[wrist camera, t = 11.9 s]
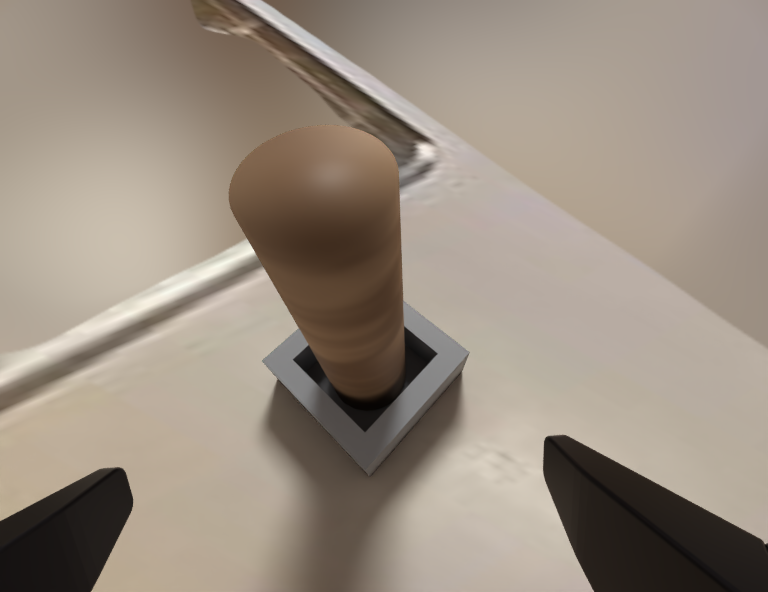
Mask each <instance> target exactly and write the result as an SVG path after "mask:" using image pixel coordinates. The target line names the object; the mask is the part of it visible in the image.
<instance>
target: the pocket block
mask: <svg viewBox="0 0 768 592" xmlns="http://www.w3.org/2000/svg"><path fill="white" fill-rule="evenodd" d="M403 311H404V340H405V369H406V376H405V382H404V386H403V388H402V390H401V392H400V393H399V395H398V396H397V397H396V398H395V399H394V400H393V401H392V402H391V403H390V404H388V405H386V406H385V407H382V408H380V409H376V410H370V411H365V410H359V409H355V408H353V407H351V406H349V405H347V404H346V403H345V402H343V401H342V400H341V399H340V397H339V396H338V395H337V393H336V391H335V390H334V388H333V386H332V384H331V383H330V381H329V379H328V377H327V376H326V374H325V372H324V371H323V369H322V367H321V365H320V364H319V362H318V360H317V358H316V357H315V355H314V353H313V351H312V350H311V348H310V346H309V345H308V343H307V341H306V339H305V338H304V336H303V334H302V332H301V331H300V329H297V330H296V331H295V332H294V333H293V334H292V335H291V336H289V337H288V338H287V339H286V340H285V341H284V342H283V343H281V344H280V345H279V346H278V347H277V348H276V349H275V350H273V351H272V352H271V353H270V354H269V355H268V356H267V357H265V358H264V359H263V360H262V362H263V363H264V364H265V365H266V366H267V367H268V369H269V370H270V371H271V372H272V373H273V374H274V375H275V376H276V378H277V379H278V380H279V381H280V382H281V383H282V384H283V385H284V386H285V387H286V388H287V389H288V390H289V391H290V392H291V394H292V395H293V396H294V397H295V398H296V399H297V400H298V401H299V402H300V403H301V404H302V405H303V406H304V407H305V408H306V409H307V411H308V412H309V413H310V414H311V415H312V416H313V417H314V418H315V419H316V420H317V421H318V422H319V423H320V424H321V425H322V427H323V428H324V429H325V430H326V431H327V432H328V433H329V434H330V435H331V436H332V437H333V438H334V439H335V440H336V441H337V442H338V444H339V445H340V446H341V447H342V448H343V449H344V450H345V451H346V452H347V453H348V454H349V455H350V456H351V457H352V458H353V459H354V461H355V462H356V463H357V464H358V465H359V466H360V467H361V468H362V469H363V470H364V471H365V472H366V473H367V474H368V475H369V477H370V476H371V475H372V474H373V473H374V472H375V470H376V469H377V468H378V467H379V466H380V465H381V464H382V462H383V461H384V460H385V459H386V458H387V457H388V456H389V454H390V453H391V452H392V451H393V450H394V449H395V448H396V446H397V445H398V444H399V443H400V442H401V441H402V439H403V438H404V437H405V436H406V435H407V434H408V433H409V431H410V430H411V429H412V428H413V427H414V426H415V425H416V423H417V422H418V421H419V420H420V419H421V418H422V417H423V415H424V414H425V413H426V412H427V411H428V410H429V409H430V407H431V406H432V405H433V404H434V403H435V402H436V400H437V399H438V398H439V397H440V396H441V395H442V394H443V392H444V391H445V390H446V389H447V388H448V387H449V386H450V384H451V383H452V382H453V381H454V380H455V379H456V378H457V376H458V375H459V374H460V373H461V372H462V370H463V368H464V365H465V363H466V360H467V358H468V355H469V351H467V350H466V349H465V348H463V347H462V346H461V345H460V344H458V343H457V342H456V341H454V340H453V339H452V338H451V337H449V336H448V335H447V334H445V333H444V332H443V331H442V330H440V329H439V328H438V327H437V326H435V325H434V324H433V323H431V322H430V321H429V320H428V319H426V318H425V317H424V316H422V315H421V314H420V313H419V312H417V311H416V310H415V309H413V308H412V307H411V306H410V305H408V304H407V303H406V302H405V301H403Z"/></svg>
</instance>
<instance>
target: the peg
mask: <svg viewBox="0 0 768 592" xmlns="http://www.w3.org/2000/svg"><path fill="white" fill-rule="evenodd" d="M229 202H230V207H231V210H232V212H233V214H234V216H235V218H236V220H237V222H238V223H239V225H240V227H241V228H242V230H243V232H244V234H245V235H246V237H247V239H248V241H249V242H250V244H251V246H252V248H253V249H254V251H255V253H256V255H257V256H258V258H259V260H260V261H261V263H262V265H263V267H264V268H265V270H266V272H267V274H268V275H269V277H270V279H271V280H272V282H273V284H274V286H275V287H276V289H277V291H278V293H279V294H280V296H281V298H282V300H283V301H284V303H285V305H286V306H287V308H288V310H289V312H290V313H291V315H292V317H293V319H294V320H295V322H296V324H297V326H298V327H299V329H300V331H301V332H302V334H303V336H304V338H305V339H306V341H307V343H308V345H309V346H310V348H311V350H312V351H313V353H314V355H315V357H316V358H317V360H318V362H319V364H320V365H321V367H322V369H323V371H324V372H325V374H326V376H327V377H328V379H329V381H330V383H331V384H332V386H333V388H334V390H335V391H336V393H337V395H338V396H339V397H340V399H341V400H342V401H343V402H345V403H346V404H347V405H349V406H351V407H353V408H355V409H359V410H365V411H370V410H376V409H380V408H382V407H385V406H386V405H388V404H390V403H391V402H392V401H393V400H394V399H395V398H396V397H397V396H398V395H399V393H400V392H401V390H402V388H403V386H404V382H405V376H406V369H405V340H404V311H403V282H402V253H401V224H400V195H399V171H398V166H397V163H396V160H395V158H394V156H393V154H392V153H391V151H390V150H389V149H388V148H387V146H386V145H385V144H383V143H382V142H381V141H380V140H379V139H377V138H375V137H374V136H372V135H370V134H368V133H366V132H364V131H361V130H358V129H355V128H350V127H345V126H338V125H317V126H308V127H303V128H299V129H295V130H291V131H288V132H285V133H283V134H280V135H278V136H276V137H274V138H272V139H270V140H268V141H266V142H265V143H263V144H261V145H260V146H259V147H257V148H256V149H254V150H253V151H252V152H251V153H250V154H249V155H248V156H247V157H246V158H245V159H244V160H243V161H242V162H241V164H240V165H239V167H238V168H237V169H236V171H235V173H234V175H233V177H232V180H231V183H230V188H229Z"/></svg>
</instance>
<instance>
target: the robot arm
mask: <svg viewBox="0 0 768 592" xmlns="http://www.w3.org/2000/svg"><path fill="white" fill-rule="evenodd" d="M543 474H544V478H545V481H546V484H547V487H548V489H549V492H550V494H551V496H552V499H553V501H554V504H555V506H556V509H557V511H558V514H559V516H560V519H561V521H562V524H563V526H564V529H565V531H566V534H567V536H568V539H569V541H570V543H571V546H572V548H573V550H574V553H575V555H576V557H577V559H578V561H579V563H580V565H581V567H582V569H583V571H584V573H585V575H586V577H587V579H588V581H589V583H590V585H591V587H592V589H593V590H594V592H768V543H767V544H764V542H763V541H762V540H761V539H760V538H758V537H756V536H754V535H752V534H750V533H748V532H747V531H745V530H743V529H741V528H739V527H737V526H735V525H733V524H732V523H730V522H728V521H726V520H724V519H722V518H720V517H718V516H717V515H715V514H713V513H711V512H709V511H707V510H705V509H703V508H702V507H700V506H698V505H696V504H694V503H692V502H690V501H688V500H687V499H685V498H683V497H681V496H679V495H677V494H675V493H673V492H672V491H670V490H668V489H666V488H664V487H662V486H660V485H659V484H657V483H655V482H653V481H651V480H649V479H647V478H645V477H644V476H642V475H640V474H638V473H636V472H634V471H632V470H630V469H629V468H627V467H625V466H623V465H621V464H619V463H617V462H615V461H614V460H612V459H610V458H608V457H606V456H604V455H602V454H600V453H599V452H597V451H595V450H593V449H591V448H589V447H587V446H585V445H584V444H582V443H580V442H578V441H576V440H574V439H572V438H570V437H569V436H566V435H554V436H547V437H546V438H545V441H544V457H543ZM132 507H133V496H132V493H131V489H130V486H129V482H128V479H127V475H126V472H125V471H124V469H122V468H120V467H115V468H103V469H99V470H97V471H95V472H93V473H91V474H90V475H88V476H86V477H84V478H82V479H80V480H78V481H76V482H74V483H72V484H70V485H69V486H67V487H65V488H63V489H61V490H59V491H57V492H55V493H53V494H51V495H49V496H47V497H46V498H44V499H42V500H40V501H38V502H36V503H34V504H32V505H30V506H28V507H26V508H25V509H23V510H21V511H19V512H17V513H15V514H13V515H11V516H9V517H7V518H5V519H4V520H2V521H0V592H91V591H92V589H93V587H94V585H95V583H96V581H97V579H98V577H99V576H100V574H101V572H102V569H103V567H104V565H105V563H106V561H107V559H108V557H109V555H110V553H111V551H112V549H113V547H114V545H115V543H116V541H117V539H118V537H119V535H120V533H121V531H122V529H123V527H124V525H125V523H126V521H127V519H128V517H129V515H130V513H131V511H132Z"/></svg>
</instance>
